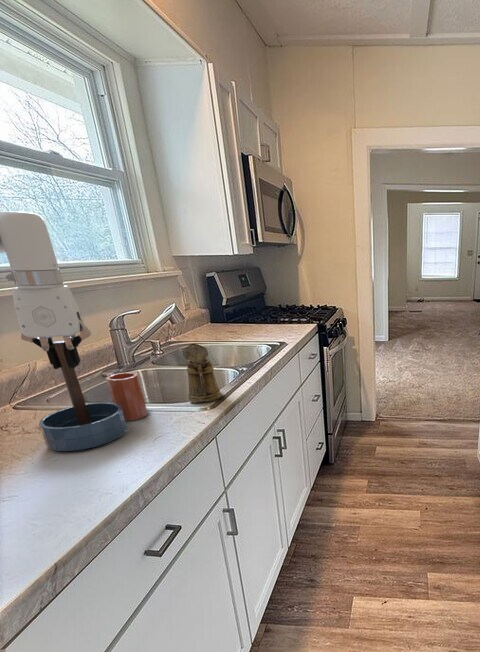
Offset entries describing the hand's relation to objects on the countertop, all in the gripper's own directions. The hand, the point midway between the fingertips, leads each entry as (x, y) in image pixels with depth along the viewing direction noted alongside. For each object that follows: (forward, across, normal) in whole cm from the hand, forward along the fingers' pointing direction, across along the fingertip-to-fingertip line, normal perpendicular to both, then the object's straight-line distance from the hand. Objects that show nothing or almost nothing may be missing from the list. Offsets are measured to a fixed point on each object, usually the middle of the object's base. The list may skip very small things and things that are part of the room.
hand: (66, 366), depth 89 cm
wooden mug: (+17, +24, +16) cm, 34 cm away
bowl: (+17, +1, -2) cm, 17 cm away
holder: (+17, +7, +10) cm, 21 cm away
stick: (+15, 0, 0) cm, 15 cm away
